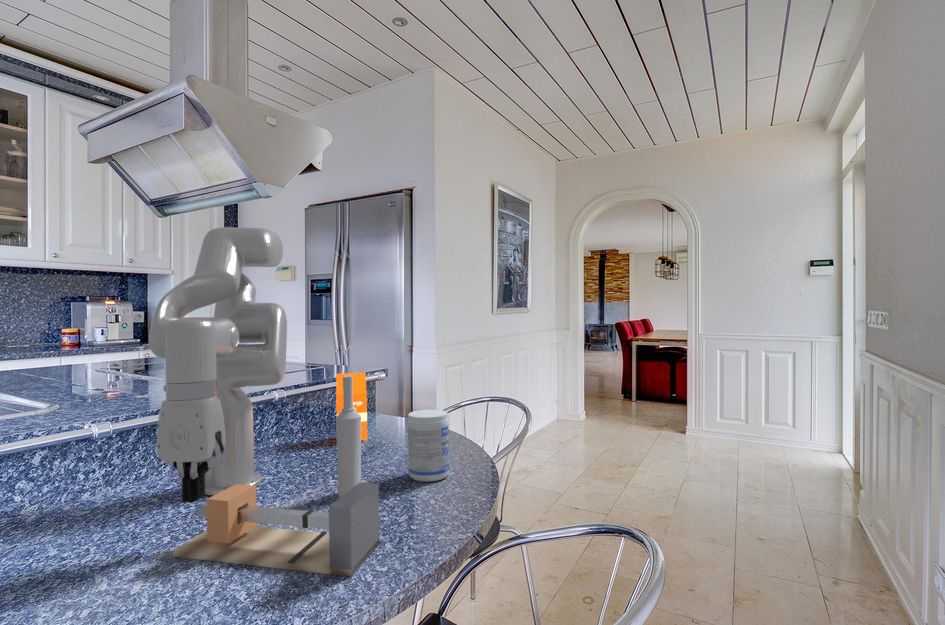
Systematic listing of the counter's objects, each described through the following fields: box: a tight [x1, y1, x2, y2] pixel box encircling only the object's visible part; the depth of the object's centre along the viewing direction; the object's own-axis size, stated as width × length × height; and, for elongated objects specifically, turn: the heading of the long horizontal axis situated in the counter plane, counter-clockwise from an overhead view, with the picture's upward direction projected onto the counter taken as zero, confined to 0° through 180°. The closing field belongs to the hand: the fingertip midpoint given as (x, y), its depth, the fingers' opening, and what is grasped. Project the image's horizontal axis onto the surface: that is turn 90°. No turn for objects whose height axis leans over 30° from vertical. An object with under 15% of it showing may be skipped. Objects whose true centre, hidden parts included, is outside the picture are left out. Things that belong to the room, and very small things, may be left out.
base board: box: [172, 525, 381, 578], centre depth 79 cm, size 31×10×1 cm, turn 77°
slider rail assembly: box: [197, 482, 381, 578], centre depth 79 cm, size 30×10×10 cm, turn 77°
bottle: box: [335, 376, 362, 498], centre depth 102 cm, size 5×5×25 cm
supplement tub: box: [407, 409, 450, 483], centre depth 113 cm, size 10×10×15 cm
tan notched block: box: [206, 484, 258, 544], centre depth 80 cm, size 4×7×7 cm, turn 167°
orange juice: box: [335, 372, 368, 441], centre depth 146 cm, size 8×9×20 cm
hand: (193, 499), depth 82 cm, fingers closed
